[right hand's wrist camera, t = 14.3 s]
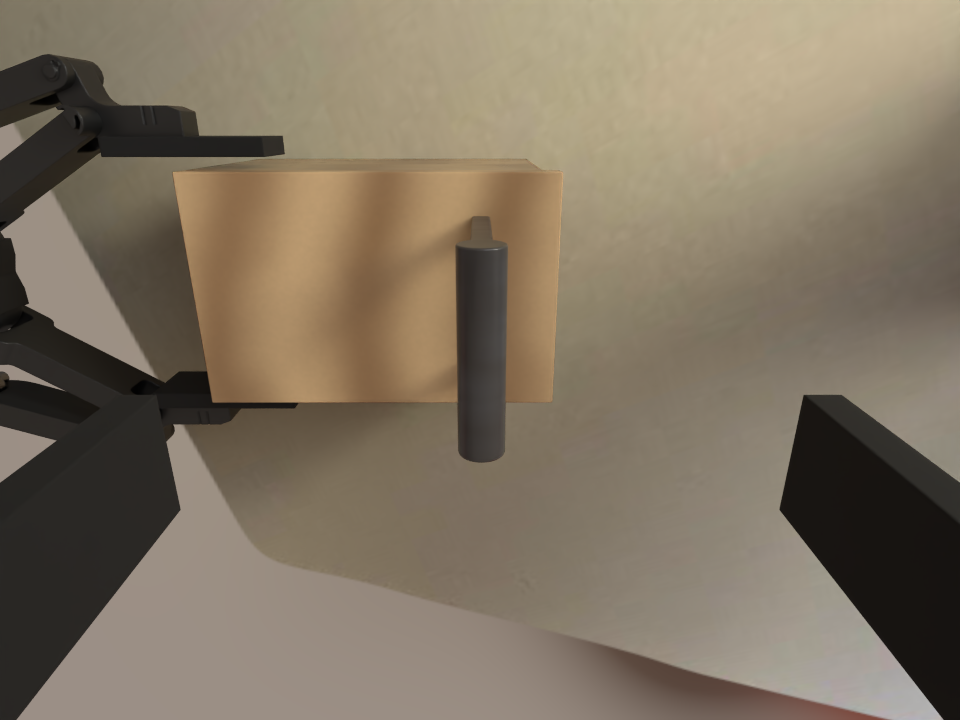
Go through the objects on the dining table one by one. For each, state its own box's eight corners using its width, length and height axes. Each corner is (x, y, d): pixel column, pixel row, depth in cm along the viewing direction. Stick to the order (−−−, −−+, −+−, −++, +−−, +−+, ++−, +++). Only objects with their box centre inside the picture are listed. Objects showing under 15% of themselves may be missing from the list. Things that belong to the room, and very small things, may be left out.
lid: (560, 170, 23) (600, 192, 16) (550, 394, 27) (579, 503, 19) (182, 170, 23) (34, 192, 16) (220, 394, 27) (114, 503, 19)
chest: (527, 159, 32) (543, 170, 24) (522, 331, 35) (535, 393, 27) (259, 158, 32) (183, 170, 24) (281, 331, 35) (221, 393, 27)
